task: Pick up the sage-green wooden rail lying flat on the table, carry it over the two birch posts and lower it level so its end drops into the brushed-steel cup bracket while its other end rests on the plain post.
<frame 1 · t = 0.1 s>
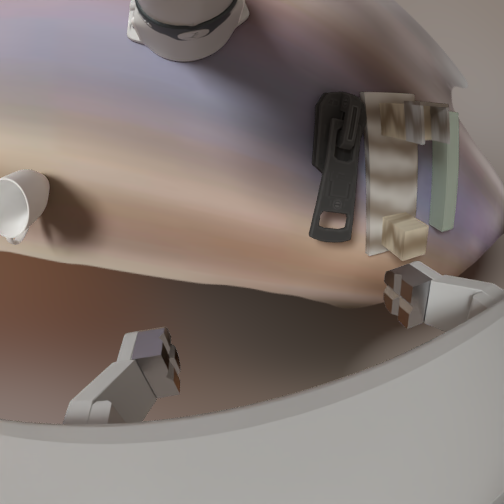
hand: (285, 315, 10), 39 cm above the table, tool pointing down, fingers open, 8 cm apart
mug: (39, 194, 40), on the table
rail: (437, 168, 53), on the table
rail posts: (390, 173, 51), on the table
zipper pull: (329, 161, 48), on the table
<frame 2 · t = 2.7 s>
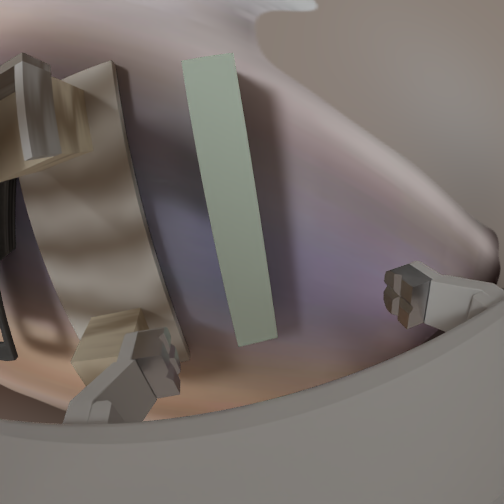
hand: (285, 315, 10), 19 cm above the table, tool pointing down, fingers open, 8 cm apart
rail: (228, 202, 28), on the table
rail posts: (92, 236, 26), on the table
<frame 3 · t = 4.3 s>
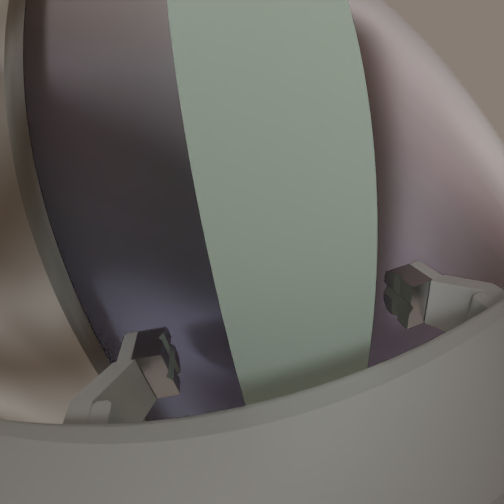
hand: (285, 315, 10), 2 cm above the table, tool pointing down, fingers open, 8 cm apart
rail: (267, 280, 12), on the table
rail posts: (3, 336, 10), on the table
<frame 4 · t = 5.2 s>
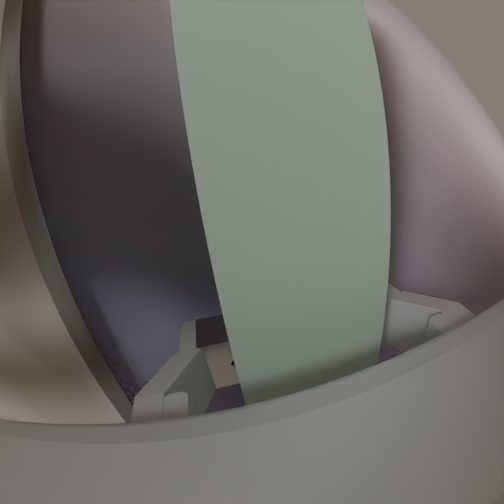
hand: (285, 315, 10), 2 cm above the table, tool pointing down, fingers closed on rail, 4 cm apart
rail: (272, 289, 12), on the table, touching gripper
rail posts: (2, 343, 10), on the table
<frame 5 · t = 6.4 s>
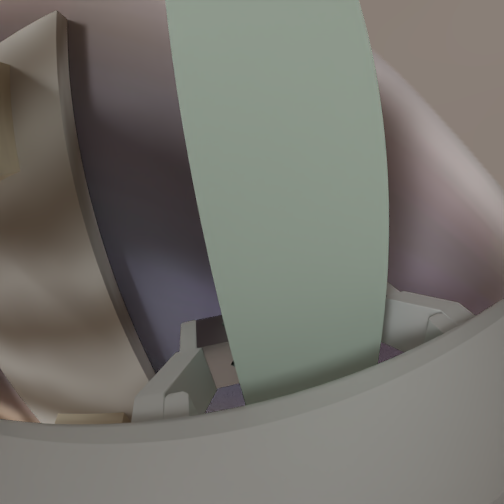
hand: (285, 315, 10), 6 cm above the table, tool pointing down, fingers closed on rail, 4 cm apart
rail: (272, 289, 12), point 4 cm above the table, touching gripper
rail posts: (40, 309, 14), on the table
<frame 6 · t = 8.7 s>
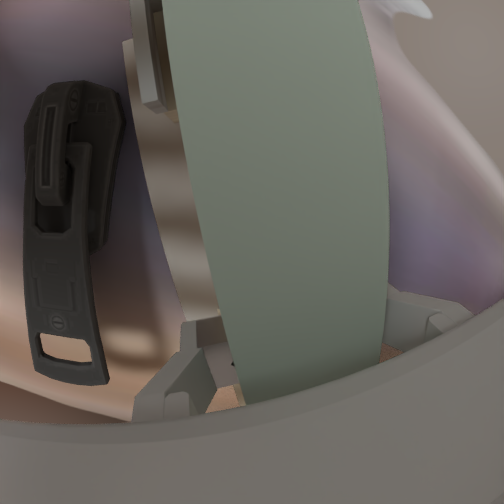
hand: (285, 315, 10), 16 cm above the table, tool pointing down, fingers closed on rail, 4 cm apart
rail: (272, 291, 12), point 14 cm above the table, touching gripper
rail posts: (230, 211, 25), on the table
zipper pull: (74, 227, 23), on the table
when the fingers open (12 cm above the table, at t = 10.2 s): rail stays where it is, resting on rail posts.
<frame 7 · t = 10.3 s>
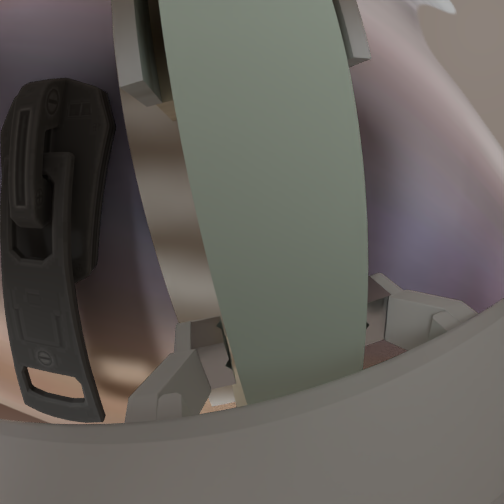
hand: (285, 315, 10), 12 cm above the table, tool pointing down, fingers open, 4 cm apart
rail: (267, 281, 13), point 9 cm above the table, touching rail posts
rail posts: (239, 225, 21), on the table
zipper pull: (60, 248, 19), on the table
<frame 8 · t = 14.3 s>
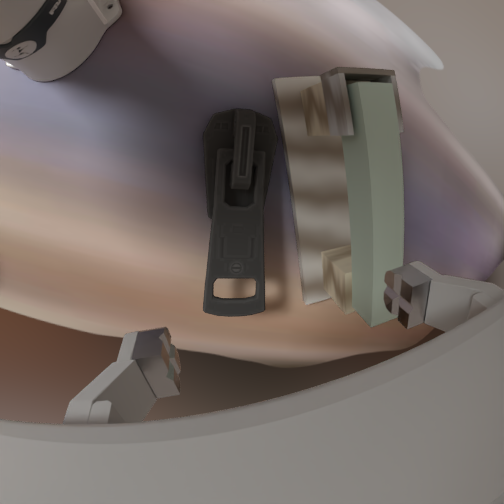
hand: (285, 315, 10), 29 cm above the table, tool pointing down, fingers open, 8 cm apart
rail: (363, 204, 31), point 9 cm above the table, touching rail posts
rail posts: (331, 190, 40), on the table
zipper pull: (233, 206, 38), on the table
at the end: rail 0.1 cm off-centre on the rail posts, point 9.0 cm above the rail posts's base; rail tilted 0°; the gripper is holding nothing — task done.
